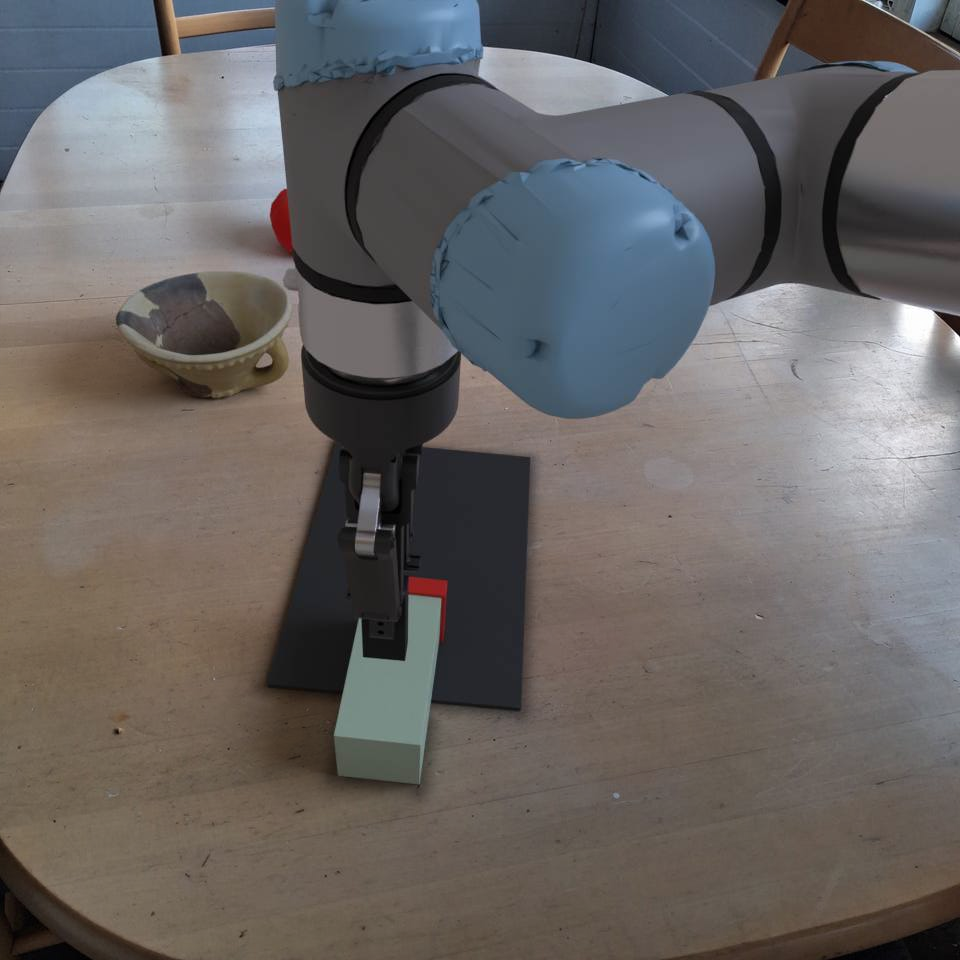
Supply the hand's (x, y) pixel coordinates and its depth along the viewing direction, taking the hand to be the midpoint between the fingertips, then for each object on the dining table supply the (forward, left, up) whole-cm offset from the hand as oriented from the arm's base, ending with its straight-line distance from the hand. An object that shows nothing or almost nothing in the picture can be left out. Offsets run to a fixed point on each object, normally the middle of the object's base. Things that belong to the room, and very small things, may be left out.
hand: (385, 649), depth 58 cm
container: (-2, +1, -10) cm, 11 cm away
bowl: (+50, +7, -14) cm, 52 cm away
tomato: (+77, -8, -14) cm, 78 cm away
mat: (+19, -7, -13) cm, 24 cm away
